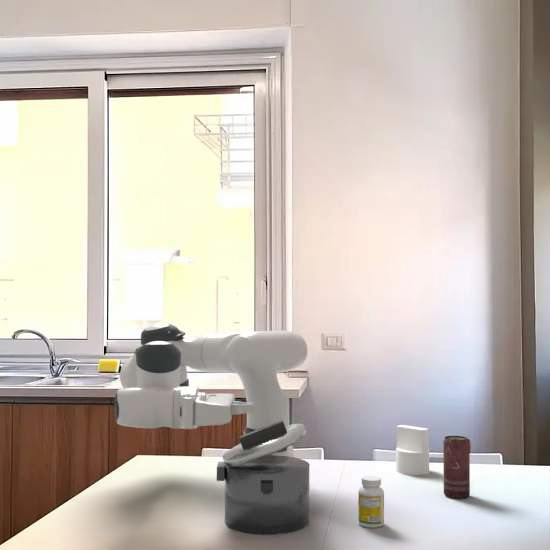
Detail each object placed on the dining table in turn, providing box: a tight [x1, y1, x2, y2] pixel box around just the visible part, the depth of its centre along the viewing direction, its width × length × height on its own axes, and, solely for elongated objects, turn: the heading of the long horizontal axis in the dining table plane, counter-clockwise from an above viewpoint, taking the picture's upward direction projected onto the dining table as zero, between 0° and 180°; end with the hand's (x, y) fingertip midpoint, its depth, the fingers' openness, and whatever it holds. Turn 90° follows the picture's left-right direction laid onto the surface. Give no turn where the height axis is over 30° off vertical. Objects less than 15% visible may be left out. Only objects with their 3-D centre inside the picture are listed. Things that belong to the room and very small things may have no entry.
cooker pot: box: [216, 455, 310, 535], centre depth 152 cm, size 20×23×12 cm
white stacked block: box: [395, 424, 430, 476], centre depth 196 cm, size 9×9×12 cm
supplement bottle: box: [357, 475, 385, 529], centre depth 149 cm, size 5×5×10 cm
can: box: [442, 435, 472, 500], centre depth 171 cm, size 6×6×14 cm
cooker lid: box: [222, 420, 307, 466], centre depth 152 cm, size 19×19×4 cm
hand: (254, 407), depth 152 cm, fingers closed
